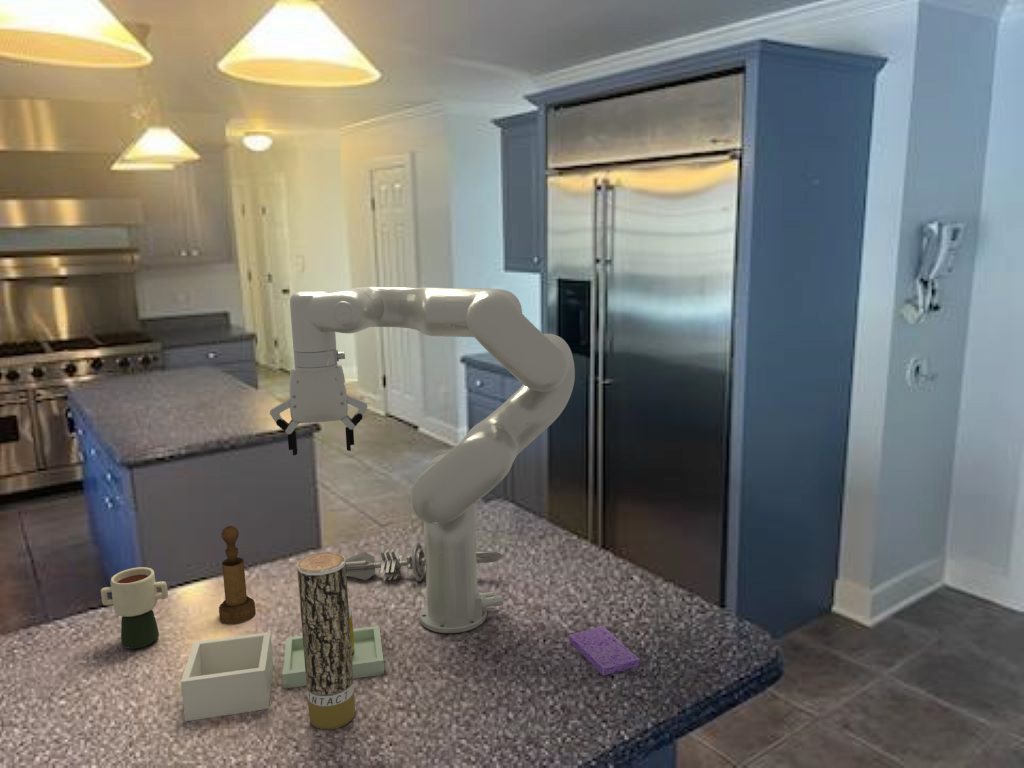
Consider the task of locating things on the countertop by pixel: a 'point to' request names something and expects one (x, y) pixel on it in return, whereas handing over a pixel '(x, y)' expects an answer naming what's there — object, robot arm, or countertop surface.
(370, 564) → the spaceship
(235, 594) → the mortar and pestle
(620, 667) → the sponges
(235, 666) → the cream square frame
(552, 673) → the countertop surface
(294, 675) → the tray
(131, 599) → the character mug
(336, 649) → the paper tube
